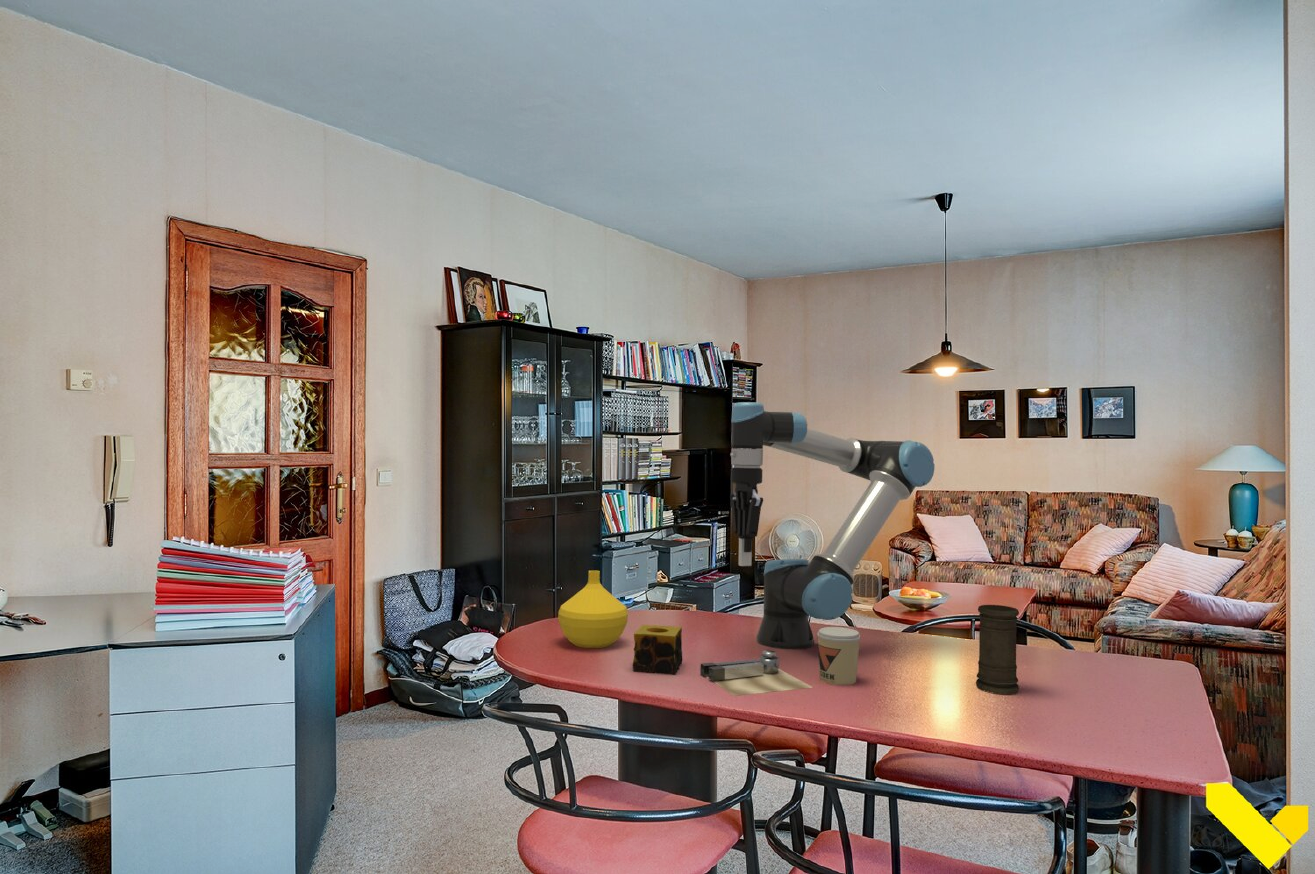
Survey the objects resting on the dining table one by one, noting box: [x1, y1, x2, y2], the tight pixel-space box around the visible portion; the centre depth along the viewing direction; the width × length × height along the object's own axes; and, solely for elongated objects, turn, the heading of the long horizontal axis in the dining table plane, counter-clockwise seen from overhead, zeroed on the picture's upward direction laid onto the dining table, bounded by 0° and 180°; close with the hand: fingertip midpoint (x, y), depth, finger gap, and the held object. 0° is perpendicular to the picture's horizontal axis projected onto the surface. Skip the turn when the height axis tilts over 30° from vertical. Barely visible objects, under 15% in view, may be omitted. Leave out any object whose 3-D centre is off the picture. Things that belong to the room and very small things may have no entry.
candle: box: [632, 624, 683, 676], centre depth 190 cm, size 10×10×10 cm
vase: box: [557, 570, 629, 649], centre depth 215 cm, size 18×18×19 cm
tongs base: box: [699, 655, 780, 678], centre depth 185 cm, size 18×5×3 cm, turn 111°
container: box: [975, 604, 1020, 695], centre depth 182 cm, size 9×9×18 cm
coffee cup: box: [816, 626, 861, 686], centre depth 182 cm, size 9×9×12 cm
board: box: [706, 668, 814, 697], centre depth 181 cm, size 19×17×1 cm
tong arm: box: [707, 649, 777, 682], centre depth 184 cm, size 18×4×4 cm, turn 114°
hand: (744, 565), depth 195 cm, fingers closed
